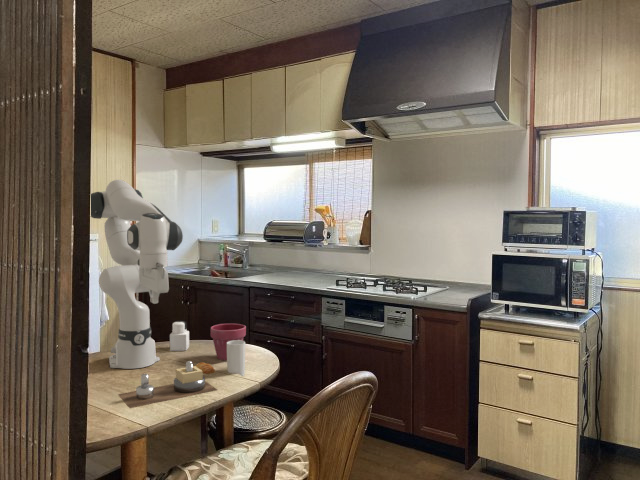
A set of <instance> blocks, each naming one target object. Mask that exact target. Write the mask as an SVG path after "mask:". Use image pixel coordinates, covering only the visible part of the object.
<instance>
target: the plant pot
mask: <svg viewBox="0 0 640 480" xmlns="http://www.w3.org/2000/svg"><path fill="white" fill-rule="evenodd" d="M246 335H247V326H246V325H245V324H240V323H219V324H215V325H213V326H210V338H212V341H213V346H214V350H215V353H216V358H217V359H218V360H220V361H227V342H229V341H233V340H241V341H244V337H246Z"/></svg>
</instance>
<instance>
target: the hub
mask: <svg viewBox="0 0 640 480" xmlns="http://www.w3.org/2000/svg"><path fill="white" fill-rule="evenodd" d="M193 363H194V362H193V361H191V360H188V361H186V362H185V368H186V373H187V372H193V366H194V364H193ZM205 381H206V378H205V376H204V375H203V380H200V381H194V382H189V383H184V384H183V383H182V382H180V381H179V380H178V379H177V378H176V377H175V378H174V379H173V384H174V391H176V392H178V393H195V392H199V391H201V390H203V389H204V388H205Z"/></svg>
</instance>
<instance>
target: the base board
mask: <svg viewBox="0 0 640 480" xmlns="http://www.w3.org/2000/svg"><path fill="white" fill-rule="evenodd" d="M215 391H218V389H217V388H216V387H214V386H213V385H212V384H210V383H209V382H207V381H206V380H205V388H204V389H203V390H201V391H199V392H195V393H178V392H176V391H174V383H171V384H165V385H161V386H156V387H155V386H154V397H153V398H150V399H146V400H139V399H137V398H136V390H133V391H129V392H123V393H118V394H117V395H118V396H119V398H120V399H121V400H122V401H123V402H124V404H125V405H126V406H127V407H128V408H129V409H134V408H138V407H143V406H147V405H153V404H158V403H162V402H167V401H168V402H169V401H172V400H173V401H174V400H177V399H182V398H187V397H191V396H197V395H201V394H205V393H209V392H215Z"/></svg>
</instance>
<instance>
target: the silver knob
mask: <svg viewBox="0 0 640 480" xmlns="http://www.w3.org/2000/svg"><path fill="white" fill-rule="evenodd" d="M149 383H150V382H149V374H148V373H142V374H141V375H140V385H138V386H137V387H135V388H136V389H135V391H136V398H137V399H139V400H146V399H150V398H153V397H154V387H155V386H154V385H152V384H149Z"/></svg>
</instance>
